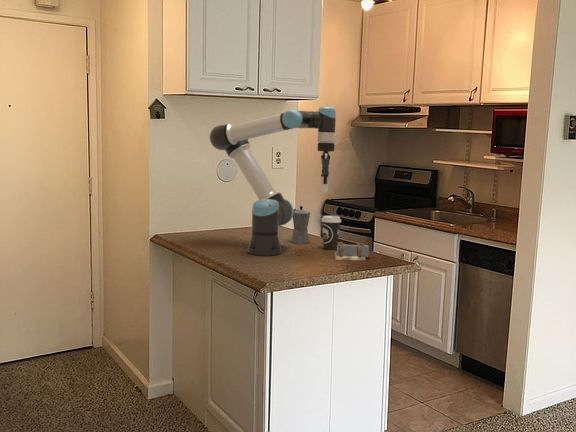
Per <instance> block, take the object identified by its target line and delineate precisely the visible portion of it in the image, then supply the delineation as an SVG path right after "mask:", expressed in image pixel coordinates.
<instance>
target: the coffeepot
mask: <svg viewBox="0 0 576 432" xmlns="http://www.w3.org/2000/svg"><path fill="white" fill-rule="evenodd" d="M293 209H294V213H293V217H292V222H293V231H292V235H291V243H293V244H299V245H300V244H301V245H303V244H308V243H310V238H309V231H308V226H309V223H310V216H311V211H308V210H305V209H303V205H300V206H299V209H296V208H293Z"/></svg>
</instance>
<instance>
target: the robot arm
mask: <svg viewBox="0 0 576 432" xmlns="http://www.w3.org/2000/svg"><path fill="white" fill-rule="evenodd" d="M317 110H318V111H317ZM317 110H316V111H312V110H311V111H306V110H297V109H288V110H286V111H285V112H280V113H277V114H273V115H270V116H266V117H261V118H257V119H253V120H248V121H245V122H240V123H237V124H232V123H227V124H219V125H216V126H214V127H213V128H212V129H211V131H210V134H209V141H210V144H211V145H212V147H214V148H215V149H216V150H219V151H225V153H226V154H227V156H228V158H229V159H233V160H234V161H235V163H236V164H237V166H238V168H239V169H240V170H241V172H242V175H243V176H244V177H245V178H246V180H247V182H248V183H249V185H250V187H251V189H252V190H253V192H254V193H255V195H256V197H257V198H258V200H256V201H254V202H253V204H252V209H251V236H250V239H249V243H248V245H247V254H250V255H253V256H260V257H261V256H263V257H264V256H265V257H267V256H277V255H281V254H282V246H281V245H282V244H281V241H280V238H279V227H280V226H284V225H286V224H287V223H289V222H291V220H293V213H294V209H295V208H294V206H293V204H292V203H291V201H289V200H288V199H286V198H284V196H283V195H282V193H281V192H279V191H276V189H275V188H274V187H273V185H272V182H271V181H270V180H269V179H268V177H267V175H266V174H265V172H264V171H263V168H262V167H261V166H260V164H259V162H258V161H257V159H256V158H255V156H254V154H253V153H252V151H251V150H250V149H251V144H250V142H249V140H250V139H254V138H259V137H262V136H266V135H271V134H275V133H279V132H283V131H288V130H293V129H317V130H318V131H317V142H318V143H317V151H318V152H322V154H321V156H320V157H321V158H320V160H321V165H322V167H321V174H320V177H321V180H320V181H321V182H320V183H321V184H320V185H321V187H320V188H321V192H324V193H325V192H327V193H328V192H329V175H330V172H329V166H330V163H331V162H330V161H331V155H330V154H329V153H330V152H335V147H336V146H335V143H334V142H336V141H335V140H336V139H335V138H337V135H336V121H337V120H336V119H337V117H336V112H337V111H336V108H335V107H332V106H319V108H318V109H317Z"/></svg>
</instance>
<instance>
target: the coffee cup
mask: <svg viewBox="0 0 576 432" xmlns="http://www.w3.org/2000/svg"><path fill="white" fill-rule="evenodd" d="M320 221H321V226H322V228H321V229H322V244H323V245H322V247H323V249H325V250H337V244H339V237H340V236H339V235H340V228H341V227H340V226H341V223H342V219H341V217H340V216H338V215H323V216H322V218H321V220H320Z"/></svg>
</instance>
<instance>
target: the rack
mask: <svg viewBox="0 0 576 432" xmlns="http://www.w3.org/2000/svg"><path fill="white" fill-rule="evenodd" d="M338 244H343V241H338ZM356 245H361V242H358V241H357V242H356ZM333 254H334V260H335V261H337V260H338V261H339V260H340V261H363V262H364V261H365V262H366V258H367V257H361V255H362V246H358V256H343V245H340V251H339V256H337V251H334V253H333Z"/></svg>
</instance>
